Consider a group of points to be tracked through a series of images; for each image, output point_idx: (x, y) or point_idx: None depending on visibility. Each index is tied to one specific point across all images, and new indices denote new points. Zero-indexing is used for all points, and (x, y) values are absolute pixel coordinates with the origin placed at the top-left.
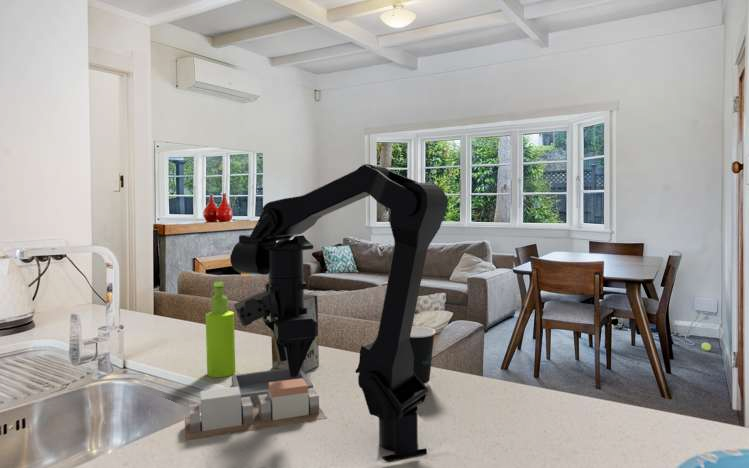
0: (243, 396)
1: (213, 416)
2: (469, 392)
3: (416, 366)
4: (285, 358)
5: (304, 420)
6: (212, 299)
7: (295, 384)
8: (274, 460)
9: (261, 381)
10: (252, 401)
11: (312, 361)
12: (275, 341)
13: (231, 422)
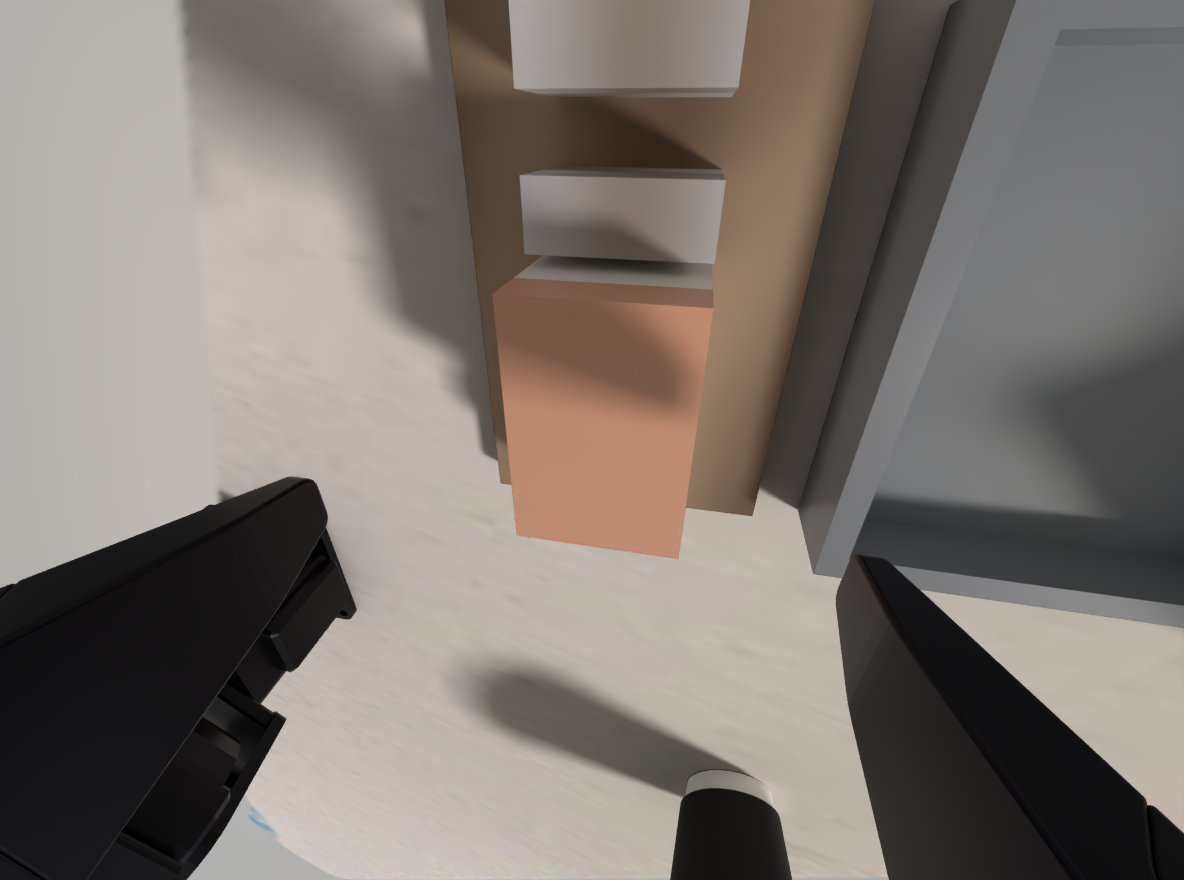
0: (990, 51)
1: None
2: (597, 818)
3: (677, 873)
4: (840, 611)
5: (501, 395)
6: None
7: (567, 481)
8: (200, 160)
9: None
10: (933, 151)
11: None
12: (1134, 811)
13: None
